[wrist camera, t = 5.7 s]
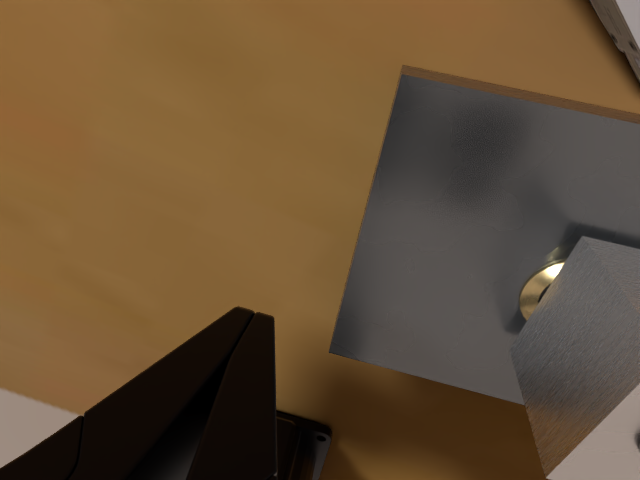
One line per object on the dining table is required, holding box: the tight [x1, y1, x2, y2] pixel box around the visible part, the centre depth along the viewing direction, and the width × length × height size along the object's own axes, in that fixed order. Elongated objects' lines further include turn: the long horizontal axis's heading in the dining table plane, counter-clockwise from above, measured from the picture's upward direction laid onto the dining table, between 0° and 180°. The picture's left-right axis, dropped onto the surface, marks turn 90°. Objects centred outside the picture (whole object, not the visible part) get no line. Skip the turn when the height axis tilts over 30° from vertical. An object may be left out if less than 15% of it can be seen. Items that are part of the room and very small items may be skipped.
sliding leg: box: [509, 236, 640, 480], centre depth 9 cm, size 4×3×4 cm
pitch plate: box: [329, 65, 640, 405], centre depth 11 cm, size 10×13×5 cm
